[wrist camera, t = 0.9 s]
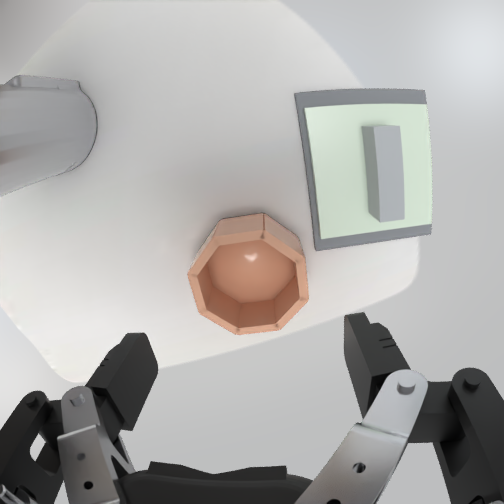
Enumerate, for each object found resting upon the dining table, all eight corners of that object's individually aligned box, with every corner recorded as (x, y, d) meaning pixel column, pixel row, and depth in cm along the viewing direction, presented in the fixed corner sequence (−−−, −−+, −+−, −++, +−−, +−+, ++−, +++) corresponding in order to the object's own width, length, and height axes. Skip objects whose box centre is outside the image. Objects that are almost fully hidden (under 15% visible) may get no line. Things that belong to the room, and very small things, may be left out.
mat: (294, 93, 23) (295, 92, 23) (421, 90, 22) (424, 90, 22) (314, 248, 29) (315, 251, 29) (428, 232, 28) (431, 234, 28)
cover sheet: (303, 108, 23) (310, 105, 20) (422, 104, 22) (443, 103, 19) (319, 236, 28) (327, 252, 25) (427, 221, 27) (446, 234, 24)
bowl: (191, 223, 29) (178, 242, 24) (294, 207, 28) (301, 223, 23) (213, 308, 33) (206, 337, 28) (304, 297, 32) (311, 325, 27)
